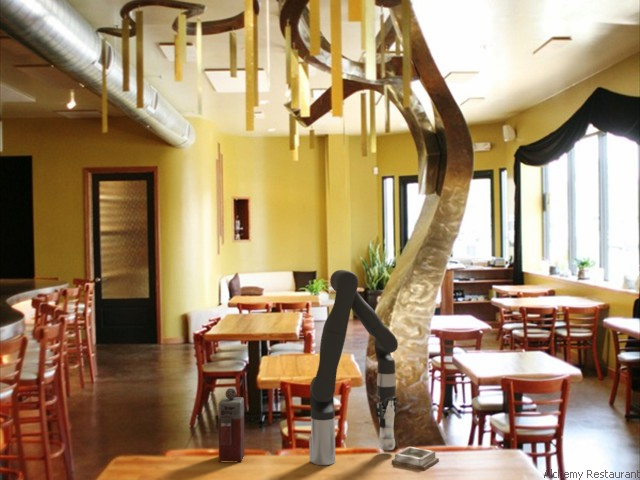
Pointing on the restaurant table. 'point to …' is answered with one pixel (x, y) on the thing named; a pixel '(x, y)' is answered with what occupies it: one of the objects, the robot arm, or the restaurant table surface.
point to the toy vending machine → (231, 427)
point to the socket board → (415, 458)
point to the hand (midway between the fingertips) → (386, 425)
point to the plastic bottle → (387, 431)
